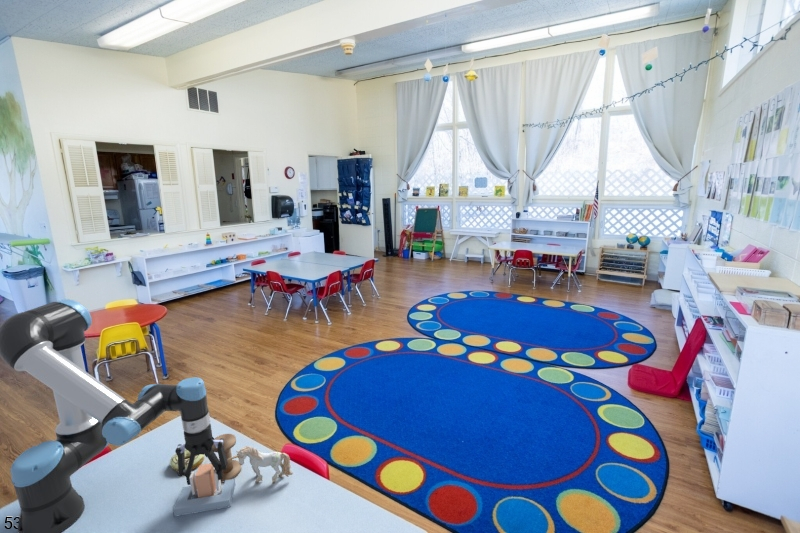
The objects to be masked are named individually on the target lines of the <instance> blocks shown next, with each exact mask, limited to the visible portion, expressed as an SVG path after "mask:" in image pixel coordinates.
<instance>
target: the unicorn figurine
mask: <svg viewBox="0 0 800 533" xmlns="http://www.w3.org/2000/svg"><path fill="white" fill-rule="evenodd" d="M235 453H237V454H236V455H235V456H232V458H229V459H227V460H230V459H232V460H235V459H238V461H239V465H241V466H243V465H244V464H245V459H247V457H248V458H249V464H250V465H251V468H252V470H253V472H254V473H255V474H256V476H257V478H256V480H255V482H254V483H255V484H259V483H260V481H261V482H263V475H262V474H261V473H260V472H261V471H260V469H259V468H268V467H269V466H270V467H271V468H273V470H274V471H275V474H273V476H271V481H272V484H275V483H276V482H277V480H278V477H279V478H282V477H283V476H284V475H285V476H286V477H289V476H292V475H294V472H293V471H292V470H291V469H292V467H291V458H290V456H289V454H287V453H285V452H281V451H273V452H272V451H271V452H261V451H260V450H258V448H255V447H254V446H248V445H247V446H244V447H242V448H241V449H239V450H236V452H235ZM279 467H280V468H281V470H280V468H279Z"/></svg>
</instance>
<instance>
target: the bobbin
mask: <svg viewBox="0 0 800 533" xmlns="http://www.w3.org/2000/svg"><path fill="white" fill-rule="evenodd" d="M221 438H223V439H224V442H223V446H224V450H225V454H226V458H227V459H229V458H232V457H233V455H232V448H233V447H234V446H235V445H236V444H237V437H236V436H235V434H233V433H223V434H220V435H218V436H216V437H215V438H214V439H215V440H220V439H221ZM212 448H213V451H214V453H218V451H217V448H216V446H215V445H214V444H213V445H212ZM218 459H219V458H218ZM219 461H220V459H219ZM227 461H228V464H227V467H226V469H225V470H222V471H223V477H222V480H221V483H225V480H230V479H236V477H237V476H239V474H240V473H241V472H242V465H239V460H236V459H230V460H227ZM214 473H215V468H214Z"/></svg>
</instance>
